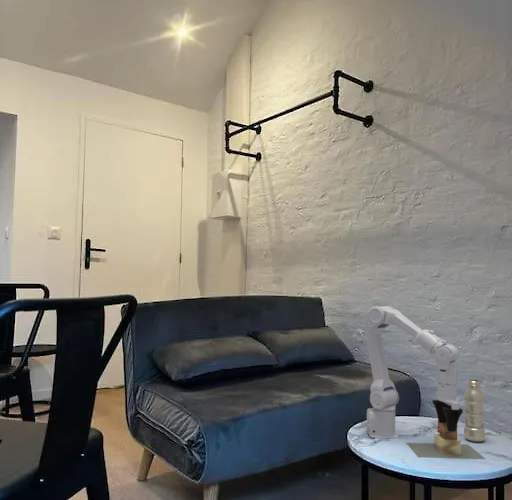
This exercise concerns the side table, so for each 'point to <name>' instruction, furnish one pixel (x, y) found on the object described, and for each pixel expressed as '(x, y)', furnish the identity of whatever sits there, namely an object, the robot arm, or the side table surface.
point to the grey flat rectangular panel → (431, 452)
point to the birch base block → (447, 445)
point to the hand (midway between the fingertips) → (447, 427)
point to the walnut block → (447, 432)
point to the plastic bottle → (474, 412)
